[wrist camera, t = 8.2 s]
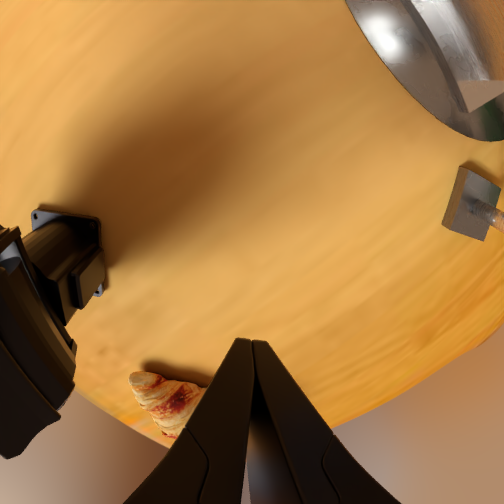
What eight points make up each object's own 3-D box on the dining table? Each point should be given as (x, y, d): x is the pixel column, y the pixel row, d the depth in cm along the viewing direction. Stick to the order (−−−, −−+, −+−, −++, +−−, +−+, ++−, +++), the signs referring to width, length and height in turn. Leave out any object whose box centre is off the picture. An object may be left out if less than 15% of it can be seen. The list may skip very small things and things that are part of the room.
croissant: (131, 353, 28) (100, 413, 23) (160, 341, 22) (118, 426, 16) (269, 424, 35) (252, 474, 29) (325, 426, 28) (308, 487, 22)
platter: (307, 69, 15) (307, 68, 14) (343, -120, 5) (343, -120, 4) (524, 178, 17) (525, 179, 17) (529, 0, 7) (530, 0, 7)
